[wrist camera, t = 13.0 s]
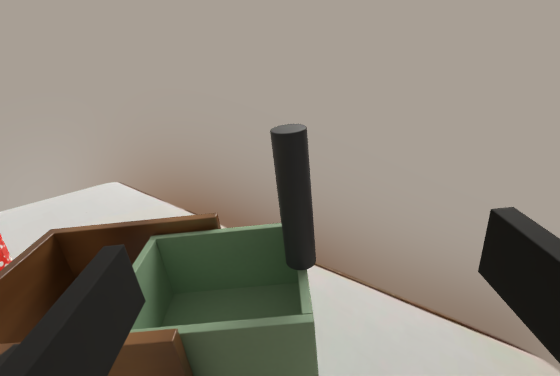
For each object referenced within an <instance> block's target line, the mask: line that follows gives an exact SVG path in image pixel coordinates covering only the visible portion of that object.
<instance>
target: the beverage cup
mask: <svg viewBox="0 0 560 376" xmlns="http://www.w3.org/2000/svg"><path fill="white" fill-rule="evenodd" d="M12 261H13V260H12V258H11V256H10V254H9V252H8V250H7V247H6V245H5V243H4V241H3V239H2V237H1V235H0V271H1V270H2V269H3V268H4V267H5V266H7V265H8V264H9V263H10V262H12Z"/></svg>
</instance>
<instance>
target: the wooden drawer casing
mask: <svg viewBox="0 0 560 376" xmlns="http://www.w3.org/2000/svg"><path fill="white" fill-rule="evenodd" d="M215 229H221V227H220V223H219V219H218V214H217V213H211V214H201V215H191V216H181V217H171V218H161V219H151V220H141V221H131V222H121V223H111V224H101V225H91V226H81V227H71V228H61V229H51V230H49V231H48V232H47V233H46V234H44V235H43V236H42V237H41V238H40V239H38V240H37V241H36V242H35V243H33V244H32V245H31V246H30V247H29V248H27V249H26V250H25V251H24V252H23V253H21V254H20V255H19V256H18V257H16V258H15V259H14V260H13V261H12V262H10V263H9V264H8V265H7V266H5V267H4V268H3V269H2V270H1V271H0V355H1V354H2V353H3V352H5V351H6V350H7V349H8V348H10V347H11V346H12V345H14V344H20V343H21V342H22V341H23V339H24V338H25V337H26V336H27V335H28V334H29V332H30V331H31V330H32V329H33V328H34V327H35V326H36V324H37V323H38V322H39V321H40V320H41V319H42V317H43V316H44V315H45V314H46V313H47V312H48V310H49V309H50V308H51V307H52V306H53V305H54V303H55V302H56V301H57V300H58V299H59V298H60V296H61V295H62V294H63V293H64V292H65V291H66V289H67V288H68V287H69V286H70V285H71V284H72V282H73V281H74V280H75V279H76V278H77V277H78V275H79V274H80V273H81V272H82V271H83V270H84V268H85V267H86V266H87V265H88V264H89V263H90V261H91V260H92V259H93V258H94V257H95V256H96V255H97V253H98V252H99V251H100V250H101V249H102V248H103V246H112V245H123V244H124V246H125V248H126V251H127V254H128V256H129V259H130V261H131V264H132V265H133V263H134V262H135V260H136V259H137V257H138V256H139V254H140V253H141V251H142V250H143V248H144V247H145V245H146V243H147V242H148V240H149V239H150V237H151V236H154V235H164V234H174V233H185V232H195V231H205V230H215ZM108 376H193V373H192V370H191V367H190V364H189V361H188V358H187V355H186V352H185V350H184V347H183V344H182V341H181V338H180V335H179V332H178V329H165V330H154V331H143V332H131V333H129V335H128V337H127V339H126V341H125V343H124V345H123V347H122V348H121V350H120V352H119V354H118V356H117V358H116V360H115V362H114V364H113V366H112V368H111V370H110V372H109V374H108Z"/></svg>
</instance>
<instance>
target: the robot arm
mask: <svg viewBox="0 0 560 376" xmlns="http://www.w3.org/2000/svg"><path fill="white" fill-rule="evenodd" d="M478 272H479V273H480V274H481V275H482V276H483V277H484V279H485V280H486V281H487V282H488V283H489V284H490V285H491V287H492V288H493V289H494V290H495V291H496V292H497V293H498V294H499V296H500V297H501V298H502V299H503V300H504V301H505V302H506V303H507V305H508V306H509V307H510V308H511V309H512V310H513V311H514V312H515V313H516V315H517V316H518V317H519V318H520V319H521V320H522V321H523V323H524V324H525V325H526V326H527V327H528V328H529V329H530V330H531V331H532V333H533V334H534V335H535V336H536V337H537V338H538V339H539V340H540V342H541V343H542V344H543V345H544V346H545V347H546V348H547V349H548V350H549V352H550V353H551V354H552V355H553V356H554V357H555V359H556V360H557V361H558V362H559V363H560V239H559V238H558V237H556V236H555V235H553V234H552V233H550V232H549V231H548V230H546V229H545V228H543V227H542V226H540V225H538V224H537V223H536V222H534V221H533V220H532V219H530V218H529V217H527V216H526V215H524V214H523V213H521V212H519V211H518V210H517V209H515V208H514V207H509V208H498V209H491V211H490V217H489V221H488V226H487V231H486V236H485V241H484V246H483V250H482V256H481V260H480V265H479V270H478ZM145 302H146V300H145V298H144V295H143V293H142V290H141V287H140V285H139V282H138V280H137V277H136V274H135V272H134V269H133V267H132V264H131V261H130V259H129V256H128V254H127V251H126V248H125V246H124V244H123V245H112V246H103V248H102V249H101V250H100V251H99V252H98V253H97V255H96V256H95V257H94V258H93V259H92V260H91V261H90V263H89V264H88V265H87V266H86V267H85V268H84V270H83V271H82V272H81V273H80V274H79V275H78V277H77V278H76V279H75V280H74V281H73V282H72V284H71V285H70V286H69V287H68V288H67V289H66V291H65V292H64V293H63V294H62V295H61V296H60V298H59V299H58V300H57V301H56V302H55V303H54V305H53V306H52V307H51V308H50V309H49V310H48V312H47V313H46V314H45V315H44V316H43V317H42V319H41V320H40V321H39V322H38V323H37V324H36V326H35V327H34V328H33V329H32V330H31V331H30V332H29V334H28V335H27V336H26V337H25V338H24V339H23V341H22V342H21V343H20V344H14V345H12V346H11V347H10V348H8V349H7V350H6V351H5V352H3V353H2V354H1V355H0V376H108V374H109V372H110V370H111V368H112V366H113V364H114V362H115V360H116V358H117V356H118V354H119V352H120V350H121V348H122V347H123V345H124V343H125V341H126V339H127V337H128V335H129V333H130V331H131V329H132V327H133V325H134V323H135V321H136V319H137V317H138V315H139V313H140V311H141V309H142V307H143V305H144V303H145Z"/></svg>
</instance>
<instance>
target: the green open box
mask: <svg viewBox="0 0 560 376" xmlns="http://www.w3.org/2000/svg"><path fill="white" fill-rule="evenodd" d="M270 132H271V140H272V149H273V158H274V165H275V174H276V182H277V191H278V198H279V207H280V216H281V223H276V224H266V225H256V226H246V227H236V228H225V229H215V230H205V231H195V232H185V233H174V234H164V235H154V236H151V237H150V239H149V240H148V242H147V243H146V245H145V247H144V248H143V250H142V251H141V253H140V254H139V256H138V257H137V259H136V260H135V262H134V263H133V265H132V267H133V269H134V272H135V274H136V277H137V280H138V282H139V285H140V287H141V290H142V293H143V295H144V298H145V300H146V302H145V303H144V305H143V307H142V309H141V311H140V313H139V315H138V317H137V319H136V321H135V323H134V325H133V327H132V329H131V331H130V333H131V332H143V331H154V330H165V329H178V332H179V335H180V338H181V341H182V344H183V347H184V350H185V352H186V355H187V358H188V361H189V364H190V367H191V370H192V373H193V376H318V364H317V352H316V339H315V327H314V318H313V311H312V304H311V296H310V289H309V282H308V275H307V269H309V268H311V267H312V266H313V265H314V264H315V262H316V254H315V240H314V225H313V211H312V197H311V182H310V168H309V155H308V139H307V127H306V126H304V125H301V124H287V125H281V126H277V127H274V128H272V129H271V131H270Z"/></svg>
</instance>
